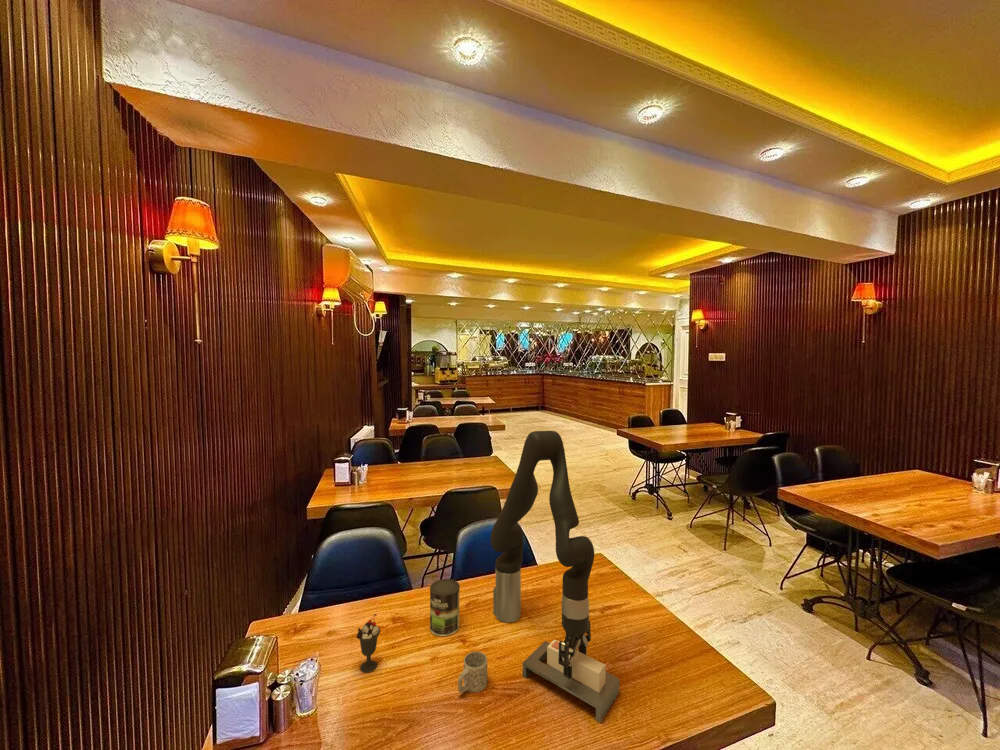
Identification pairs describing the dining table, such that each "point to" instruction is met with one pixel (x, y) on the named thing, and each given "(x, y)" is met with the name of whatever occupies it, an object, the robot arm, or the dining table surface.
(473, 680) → the mug
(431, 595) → the coffee can
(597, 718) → the slotted board
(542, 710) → the dining table surface
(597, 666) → the cream rectangular block
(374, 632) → the sundae
